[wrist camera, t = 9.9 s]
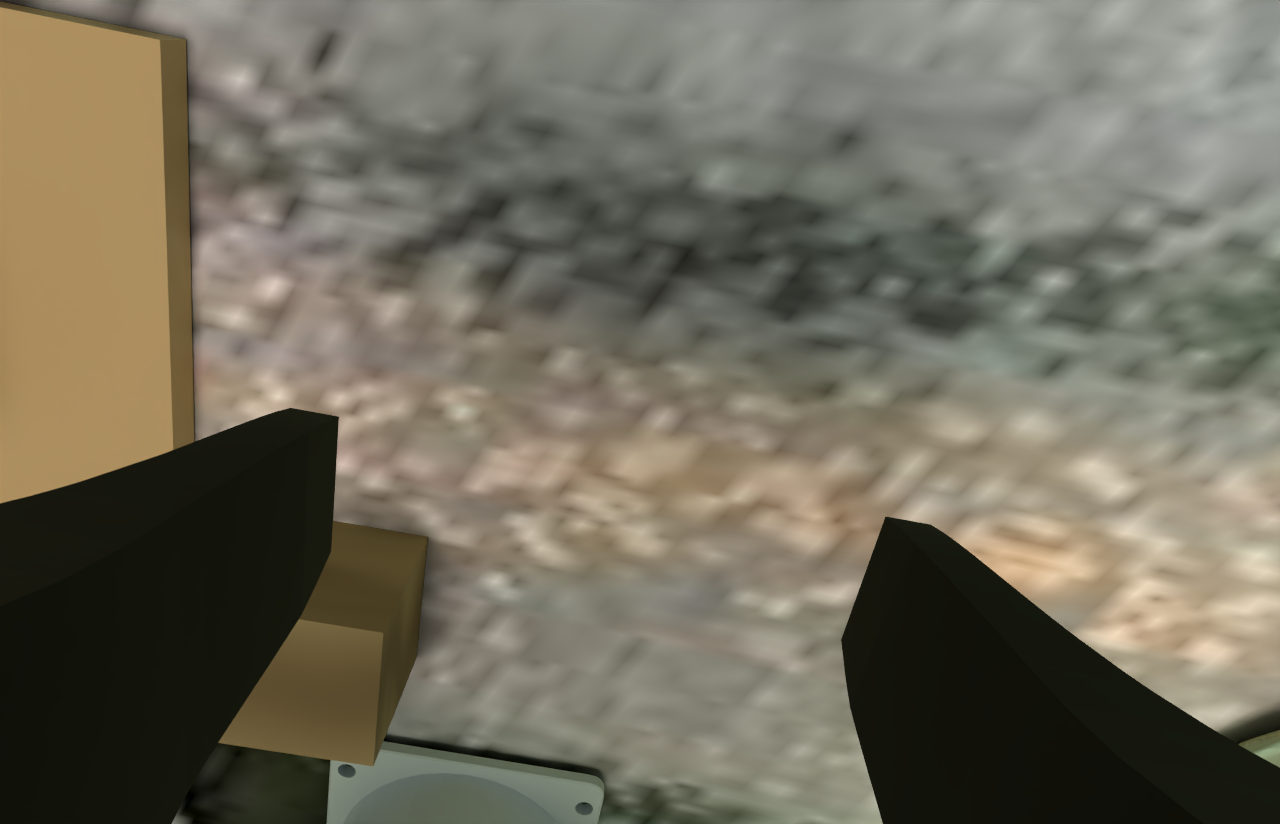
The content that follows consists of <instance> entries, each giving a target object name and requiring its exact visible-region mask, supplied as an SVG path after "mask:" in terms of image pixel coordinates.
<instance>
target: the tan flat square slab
mask: <svg viewBox="0 0 1280 824" xmlns="http://www.w3.org/2000/svg"><path fill="white" fill-rule="evenodd" d="M193 442H194V399H193V351H192V303H191V255H190V207H189V159H188V111H187V63H186V39H182V38H177V37H172V36H167V35H162V34H157V33H153V32H148V31H143V30H138V29H133V28H128V27H123V26H118V25H114V24H109V23H104V22H99V21H94V20H89V19H84V18H79V17H75V16H70V15H65V14H60V13H55V12H50V11H45V10H40V9H36V8H31V7H26V6H21V5H16V4H11V3H6V2H1V1H0V503H4V502H8V501H12V500H16V499H20V498H24V497H28V496H32V495H35V494H39V493H43V492H46V491H50V490H53V489H57V488H60V487H64V486H67V485H71V484H74V483H77V482H81V481H84V480H87V479H90V478H93V477H96V476H99V475H101V474H104V473H107V472H110V471H113V470H116V469H119V468H122V467H125V466H128V465H131V464H134V463H137V462H140V461H143V460H146V459H149V458H152V457H155V456H158V455H161V454H164V453H167V452H169V451H172V450H174V449H177V448H180V447H182V446H185V445H188V444H190V443H193Z"/></svg>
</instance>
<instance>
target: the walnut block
mask: <svg viewBox="0 0 1280 824" xmlns="http://www.w3.org/2000/svg"><path fill="white" fill-rule="evenodd" d="M427 543H428V537H426V536H420V535H414V534H408V533H402V532H396V531H390V530H384V529H378V528H372V527H366V526H360V525H354V524H348V523H342V522H336V521H333V529H332V547H331V553H330V555H329V557H328V560H327V562H326V564H325V566H324V568H323V571H322V573H321V575H320V577H319V580H318V582H317V584H316V586H315V588H314V590H313V592H312V594H311V596H310V599H309V601H308V603H307V605H306V607H305V609H304V611H303V613H302V615H301V617H300V618H299V620H298V621H297V623H296V624H295V626H294V628H293V629H292V631H291V632H290V634H289V635H288V637H287V639H286V640H285V642H284V643H283V645H282V646H281V648H280V649H279V651H278V652H277V654H276V656H275V657H274V659H273V660H272V662H271V663H270V665H269V666H268V668H267V669H266V671H265V672H264V674H263V675H262V677H261V678H260V680H259V681H258V683H257V684H256V686H255V688H254V689H253V691H252V692H251V694H250V695H249V697H248V698H247V700H246V701H245V703H244V704H243V706H242V707H241V709H240V710H239V712H238V713H237V715H236V716H235V718H234V719H233V721H232V722H231V724H230V725H229V727H228V728H227V730H226V732H225V733H224V735H223V736H222V738H221V739H220V741H219V742H218V743H223V744H230V745H237V746H243V747H250V748H256V749H263V750H269V751H276V752H282V753H289V754H295V755H302V756H308V757H315V758H321V759H328V760H334V761H341V762H347V763H354V764H360V765H367V766H374V764H375V761H376V759H377V756H378V753H379V751H380V748H381V746H382V743H383V741H384V738H385V736H386V733H387V731H388V728H389V726H390V723H391V720H392V718H393V715H394V713H395V710H396V708H397V705H398V703H399V700H400V698H401V695H402V693H403V690H404V688H405V685H406V682H407V680H408V677H409V675H410V672H411V670H412V667H413V665H414V662H415V660H416V657H417V648H418V637H419V627H420V616H421V606H422V595H423V585H424V574H425V564H426V553H427Z"/></svg>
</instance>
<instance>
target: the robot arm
mask: <svg viewBox="0 0 1280 824" xmlns="http://www.w3.org/2000/svg"><path fill="white" fill-rule="evenodd" d="M338 420H339V417H337V416H332V415H326V414H321V413H315V412H310V411H304V410H299V409H293V408H289V409H285V410H281V411H277V412H274V413H271V414H268V415H265V416H262V417H259V418H257V419H254V420H251V421H248V422H246V423H243V424H240V425H238V426H235V427H233V428H230V429H227V430H225V431H222V432H219V433H217V434H214V435H212V436H209V437H206V438H204V439H201V440H198V441H196V442H193V443H190V444H188V445H185V446H182V447H180V448H177V449H174V450H172V451H169V452H167V453H164V454H161V455H158V456H155V457H152V458H149V459H146V460H143V461H140V462H137V463H134V464H131V465H128V466H125V467H122V468H119V469H116V470H113V471H110V472H107V473H104V474H101V475H99V476H96V477H93V478H90V479H87V480H84V481H81V482H77V483H74V484H71V485H67V486H64V487H60V488H57V489H53V490H50V491H46V492H43V493H39V494H35V495H32V496H28V497H24V498H20V499H16V500H12V501H8V502H4V503H0V824H171V823H172V821H173V819H174V817H175V816H176V814H177V812H178V810H179V808H180V806H181V804H182V802H183V800H184V798H185V796H186V794H187V793H188V791H189V789H190V787H191V786H192V784H193V782H194V781H195V779H196V777H197V776H198V774H199V772H200V771H201V769H202V767H203V766H204V764H205V762H206V761H207V759H208V757H209V756H210V754H211V753H212V751H213V750H214V748H215V747H216V745H217V744H218V742H219V741H220V739H221V738H222V736H223V735H224V733H225V732H226V730H227V728H228V727H229V725H230V724H231V722H232V721H233V719H234V718H235V716H236V715H237V713H238V712H239V710H240V709H241V707H242V706H243V704H244V703H245V701H246V700H247V698H248V697H249V695H250V694H251V692H252V691H253V689H254V688H255V686H256V684H257V683H258V681H259V680H260V678H261V677H262V675H263V674H264V672H265V671H266V669H267V668H268V666H269V665H270V663H271V662H272V660H273V659H274V657H275V656H276V654H277V652H278V651H279V649H280V648H281V646H282V645H283V643H284V642H285V640H286V639H287V637H288V635H289V634H290V632H291V631H292V629H293V628H294V626H295V624H296V623H297V621H298V620H299V618H300V617H301V615H302V613H303V611H304V609H305V607H306V605H307V603H308V601H309V599H310V596H311V594H312V592H313V590H314V588H315V586H316V584H317V582H318V580H319V577H320V575H321V573H322V571H323V568H324V566H325V564H326V562H327V560H328V557H329V555H330V553H331V547H332V529H333V511H334V492H335V474H336V456H337V438H338ZM841 641H842V650H843V659H844V667H845V676H846V683H847V689H848V696H849V703H850V708H851V712H852V716H853V720H854V723H855V727H856V731H857V734H858V738H859V741H860V745H861V749H862V752H863V756H864V759H865V763H866V766H867V770H868V773H869V777H870V780H871V784H872V787H873V790H874V794H875V797H876V801H877V804H878V808H879V811H880V815H881V818H882V822H883V824H1280V767H1278V766H1276V765H1274V764H1272V763H1271V762H1269V761H1267V760H1265V759H1263V758H1261V757H1260V756H1258V755H1256V754H1254V753H1252V752H1250V751H1249V750H1247V749H1245V748H1243V747H1242V746H1240V745H1238V744H1237V743H1235V742H1233V741H1231V740H1230V739H1228V738H1226V737H1225V736H1223V735H1221V734H1220V733H1218V732H1216V731H1214V730H1213V729H1211V728H1209V727H1208V726H1206V725H1205V724H1203V723H1201V722H1200V721H1198V720H1197V719H1195V718H1194V717H1192V716H1190V715H1189V714H1187V713H1186V712H1184V711H1183V710H1181V709H1179V708H1178V707H1176V706H1175V705H1173V704H1172V703H1170V702H1168V701H1167V700H1165V699H1164V698H1162V697H1161V696H1159V695H1157V694H1156V693H1154V692H1153V691H1151V690H1150V689H1148V688H1147V687H1145V686H1144V685H1142V684H1141V683H1139V682H1138V681H1136V680H1135V679H1134V678H1132V677H1131V676H1129V675H1128V674H1126V673H1125V672H1123V671H1122V670H1121V669H1119V668H1118V667H1116V666H1115V665H1114V664H1112V663H1111V662H1110V661H1108V660H1107V659H1106V658H1104V657H1103V656H1101V655H1100V654H1099V653H1097V652H1096V651H1095V650H1093V649H1092V648H1090V647H1089V646H1088V645H1086V644H1085V643H1084V642H1082V641H1081V640H1079V639H1078V638H1077V637H1076V636H1074V635H1073V634H1072V633H1070V632H1069V631H1068V630H1066V629H1065V628H1064V627H1063V626H1061V625H1060V624H1059V623H1057V622H1056V621H1055V620H1053V619H1052V618H1051V617H1050V616H1048V615H1047V614H1046V613H1045V612H1043V611H1042V610H1041V609H1039V608H1038V607H1037V606H1036V605H1034V604H1033V603H1032V602H1031V601H1030V600H1028V599H1027V598H1026V597H1025V596H1023V595H1022V594H1021V593H1020V592H1018V591H1017V590H1016V589H1015V588H1013V587H1012V586H1011V585H1010V584H1008V583H1007V582H1006V581H1005V580H1004V579H1002V578H1001V577H1000V576H999V575H997V574H996V573H995V572H994V571H992V570H991V569H990V568H989V567H987V566H986V565H985V564H984V563H983V562H981V561H980V560H979V559H978V558H976V557H975V556H974V555H973V554H971V553H970V552H969V551H967V550H966V549H965V548H963V547H962V546H961V545H960V544H958V543H957V542H956V541H954V540H953V539H952V538H950V537H949V536H947V535H946V534H944V533H943V532H942V531H940V530H938V529H937V528H935V527H933V526H932V525H929V524H924V523H918V522H913V521H907V520H902V519H896V518H891V517H885V520H884V523H883V525H882V528H881V531H880V534H879V537H878V539H877V542H876V545H875V548H874V550H873V553H872V556H871V559H870V561H869V564H868V567H867V570H866V573H865V575H864V578H863V581H862V584H861V586H860V589H859V592H858V595H857V598H856V600H855V603H854V606H853V609H852V611H851V614H850V617H849V620H848V623H847V625H846V628H845V631H844V634H843V636H842V639H841ZM345 764H348V765H351V766H353V767H349V766H347V765H345ZM603 799H604V784H603V782H602V780H600V779H599V778H598V777H596V776H593V775H589V774H583V773H577V772H570V771H564V770H558V769H552V768H546V767H540V766H533V765H527V764H521V763H515V762H509V761H502V760H496V759H490V758H484V757H478V756H471V755H465V754H459V753H453V752H447V751H440V750H434V749H428V748H422V747H416V746H410V745H403V744H397V743H391V742H385V741H383V743H382V746H381V748H380V751H379V753H378V756H377V759H376V761H375V764H374V766H367V765H360V764H354V763H347V762H341V761H334V760H331V761H330V778H329V794H328V810H327V824H598V820H599V816H600V812H601V807H602V803H603ZM581 802H586V803H589V804H582V803H581Z"/></svg>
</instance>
